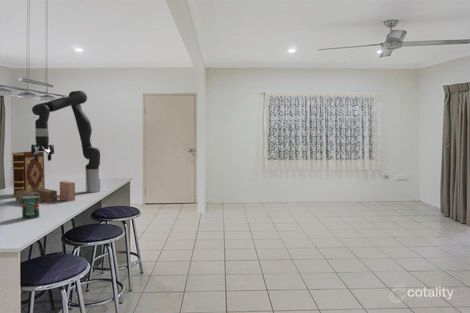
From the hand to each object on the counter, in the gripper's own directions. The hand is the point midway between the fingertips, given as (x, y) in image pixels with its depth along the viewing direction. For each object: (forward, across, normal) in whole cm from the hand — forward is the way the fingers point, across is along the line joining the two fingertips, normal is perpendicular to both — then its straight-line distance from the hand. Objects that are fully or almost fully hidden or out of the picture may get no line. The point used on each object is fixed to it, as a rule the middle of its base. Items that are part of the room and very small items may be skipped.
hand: (43, 160), depth 231 cm
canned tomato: (+26, -21, +43) cm, 55 cm away
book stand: (+26, +4, +3) cm, 26 cm away
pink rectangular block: (+26, -13, -4) cm, 30 cm away
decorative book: (+26, +24, -18) cm, 40 cm away
